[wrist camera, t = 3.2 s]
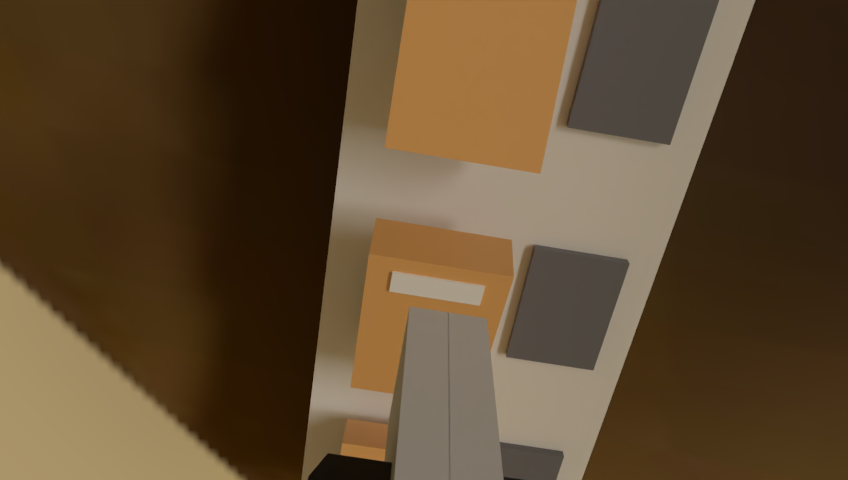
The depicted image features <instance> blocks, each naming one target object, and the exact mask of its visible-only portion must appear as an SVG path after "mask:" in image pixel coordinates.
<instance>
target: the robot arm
mask: <svg viewBox="0 0 848 480" xmlns="http://www.w3.org/2000/svg"><path fill="white" fill-rule="evenodd" d="M308 480H522V479H516V478H509V477H503V469H502V459H501V449H500V440H499V430H498V420H497V410H496V401H495V391H494V381H493V371H492V362H491V352H490V342H489V333H488V323H487V318H481V317H474V316H468V315H462V314H455V313H449V312H443V311H436V310H430V309H423V308H417V307H411V306H409V312H408V317H407V323H406V328H405V334H404V339H403V345H402V350H401V356H400V361H399V367H398V372H397V377H396V383H395V388H394V394H393V399H392V405H391V410H390V416H389V423H388V432H387V441H386V451H385V460H384V461H378V460H371V459H365V458H358V457H351V456H344V455H337V454H330V453H328V454H327V455H326V456H325V457H324V458H323V460H322V461H321V462H320V463H319V464H318V465H317V467H316V468H315V469H314V470H313V471H312V473H311V474H310V475H309V476H308Z"/></svg>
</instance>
